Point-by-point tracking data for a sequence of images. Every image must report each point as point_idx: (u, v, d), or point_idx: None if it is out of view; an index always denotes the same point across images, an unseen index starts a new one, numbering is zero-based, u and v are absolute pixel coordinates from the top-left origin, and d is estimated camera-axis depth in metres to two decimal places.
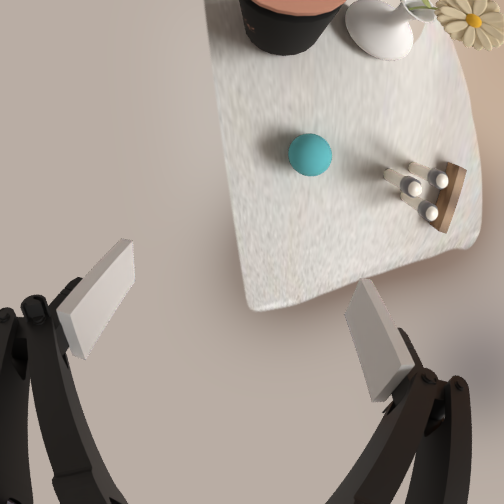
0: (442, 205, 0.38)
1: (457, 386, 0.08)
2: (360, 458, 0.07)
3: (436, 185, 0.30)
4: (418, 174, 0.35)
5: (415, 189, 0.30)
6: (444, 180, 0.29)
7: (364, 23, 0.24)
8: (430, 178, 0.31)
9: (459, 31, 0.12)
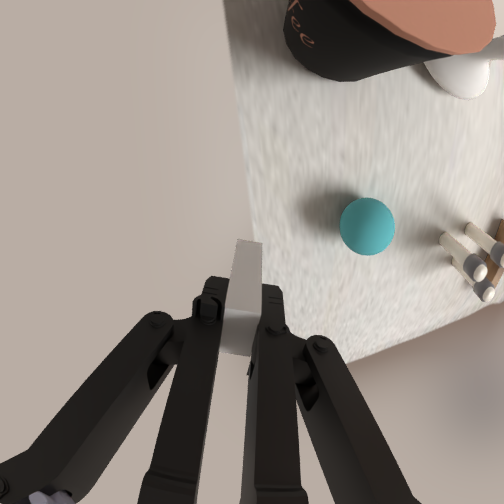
0: (490, 268, 0.29)
1: (318, 348, 0.09)
2: (246, 433, 0.08)
3: (499, 264, 0.22)
4: (477, 242, 0.26)
5: (481, 274, 0.22)
6: None
7: None
8: (494, 255, 0.23)
9: None
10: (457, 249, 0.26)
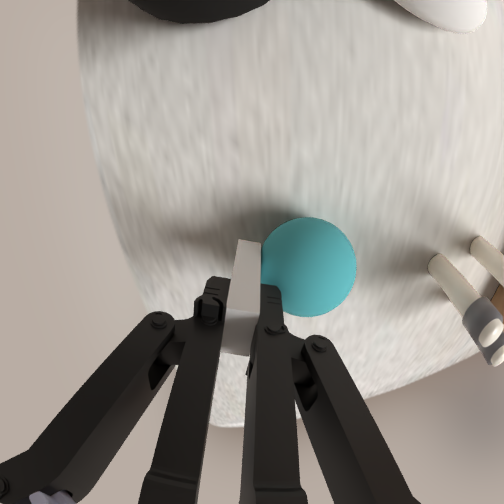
0: None
1: (317, 348, 0.09)
2: (245, 433, 0.08)
3: None
4: (489, 269, 0.16)
5: (492, 335, 0.11)
6: None
7: None
8: None
9: None
10: (455, 287, 0.15)
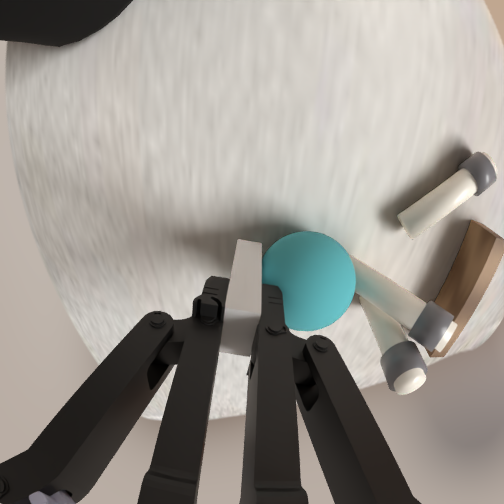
0: (446, 310, 0.19)
1: (318, 348, 0.09)
2: (245, 433, 0.08)
3: (487, 159, 0.13)
4: (437, 193, 0.15)
5: None
6: None
7: None
8: (470, 159, 0.13)
9: None
10: (388, 297, 0.15)
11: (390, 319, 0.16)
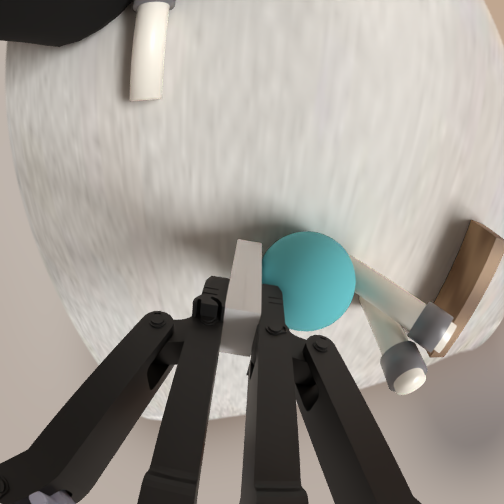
0: (446, 310, 0.19)
1: (318, 348, 0.09)
2: (246, 433, 0.08)
3: None
4: None
5: None
6: None
7: None
8: None
9: None
10: (388, 298, 0.15)
11: (390, 319, 0.16)
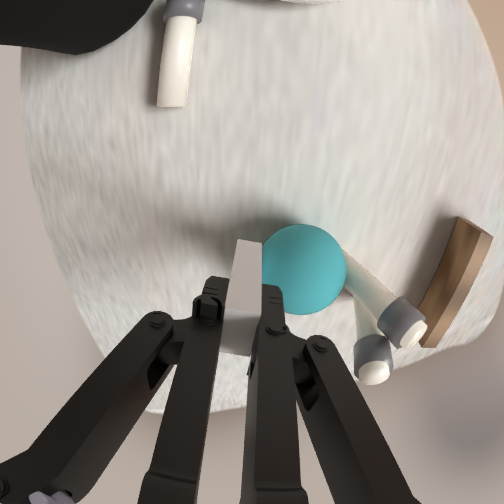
0: (436, 302, 0.20)
1: (318, 349, 0.09)
2: (246, 433, 0.08)
3: None
4: (166, 60, 0.13)
5: (415, 338, 0.14)
6: None
7: None
8: (166, 7, 0.11)
9: None
10: (363, 288, 0.17)
11: None
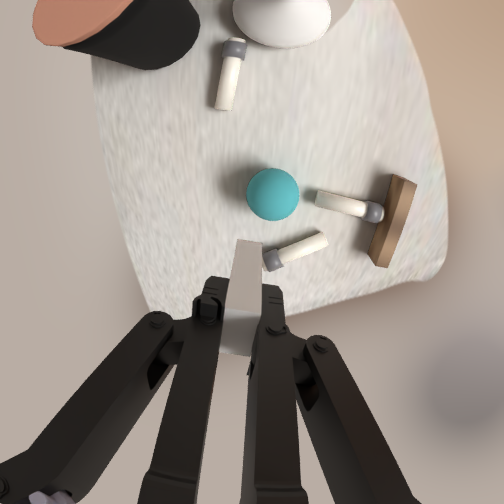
0: (382, 232, 0.33)
1: (319, 348, 0.09)
2: (246, 433, 0.08)
3: (245, 44, 0.24)
4: (235, 84, 0.26)
5: None
6: None
7: (249, 6, 0.20)
8: (241, 51, 0.24)
9: None
10: (350, 200, 0.32)
11: (299, 256, 0.35)
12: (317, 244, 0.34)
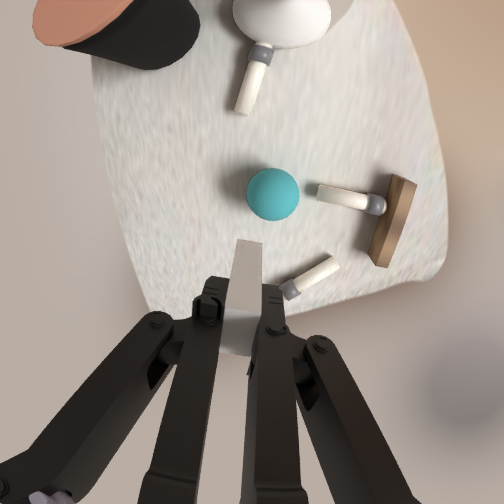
0: (382, 232, 0.33)
1: (319, 348, 0.09)
2: (246, 433, 0.08)
3: None
4: None
5: None
6: None
7: (249, 6, 0.20)
8: None
9: None
10: (351, 191, 0.32)
11: (307, 271, 0.37)
12: None
